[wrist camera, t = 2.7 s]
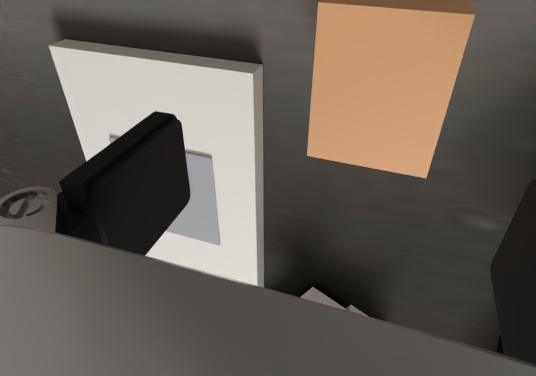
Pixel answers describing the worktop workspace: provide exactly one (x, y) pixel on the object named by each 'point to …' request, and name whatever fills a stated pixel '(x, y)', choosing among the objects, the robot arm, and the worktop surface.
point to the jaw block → (385, 80)
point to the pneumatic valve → (500, 346)
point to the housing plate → (195, 141)
